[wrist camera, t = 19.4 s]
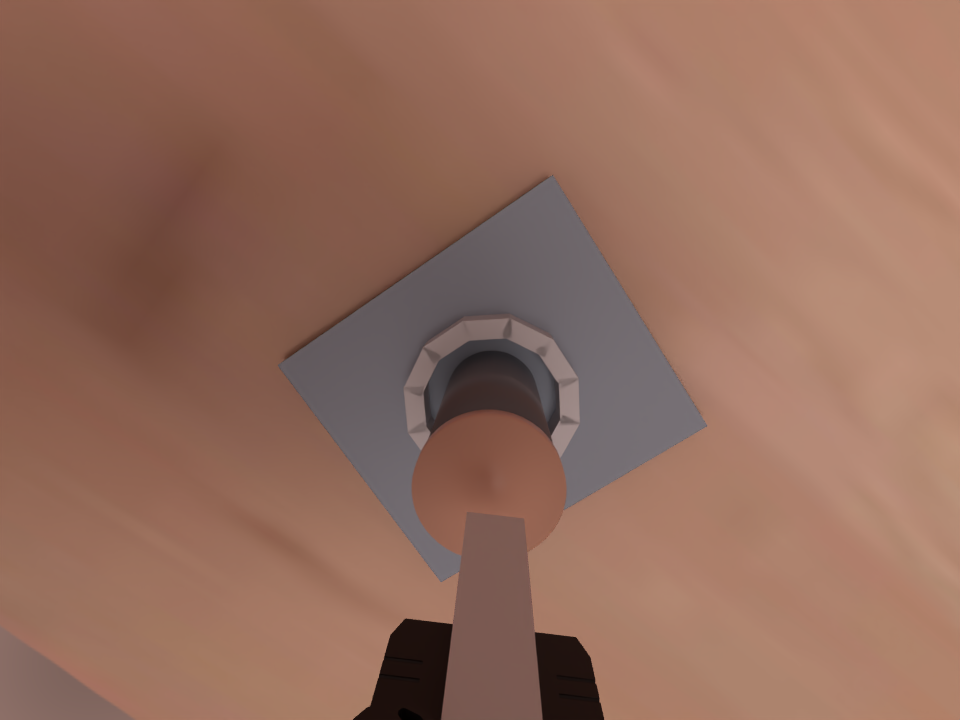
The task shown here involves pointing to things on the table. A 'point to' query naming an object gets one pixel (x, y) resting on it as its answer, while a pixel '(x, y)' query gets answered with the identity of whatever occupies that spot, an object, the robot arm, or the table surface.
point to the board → (507, 328)
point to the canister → (489, 454)
